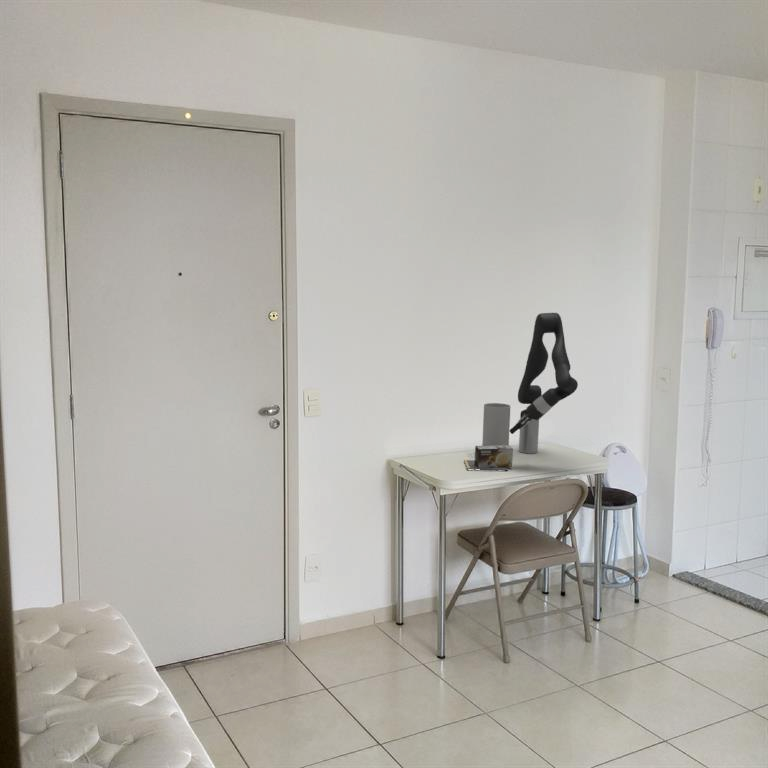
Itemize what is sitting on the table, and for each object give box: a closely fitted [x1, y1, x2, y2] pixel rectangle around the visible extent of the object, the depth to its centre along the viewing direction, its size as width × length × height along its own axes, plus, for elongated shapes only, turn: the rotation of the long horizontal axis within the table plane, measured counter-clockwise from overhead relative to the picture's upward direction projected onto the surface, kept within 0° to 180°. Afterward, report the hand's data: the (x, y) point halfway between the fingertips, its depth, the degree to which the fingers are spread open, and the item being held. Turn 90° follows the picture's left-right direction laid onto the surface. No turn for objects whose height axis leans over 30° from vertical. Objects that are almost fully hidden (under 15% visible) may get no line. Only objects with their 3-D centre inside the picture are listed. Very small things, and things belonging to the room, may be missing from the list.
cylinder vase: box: [481, 402, 511, 446], centre depth 378 cm, size 12×12×25 cm
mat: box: [463, 459, 509, 472], centre depth 360 cm, size 16×18×1 cm
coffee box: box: [474, 444, 514, 468], centre depth 357 cm, size 9×6×16 cm
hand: (510, 432), depth 359 cm, fingers closed
